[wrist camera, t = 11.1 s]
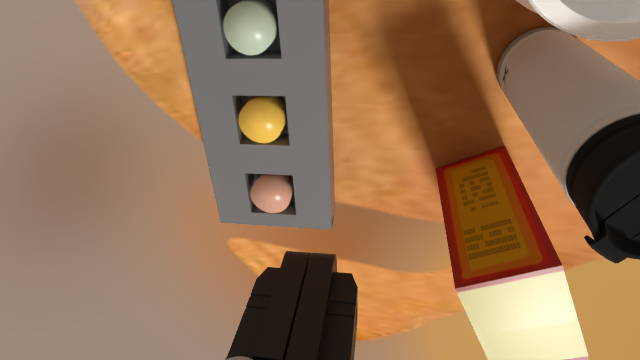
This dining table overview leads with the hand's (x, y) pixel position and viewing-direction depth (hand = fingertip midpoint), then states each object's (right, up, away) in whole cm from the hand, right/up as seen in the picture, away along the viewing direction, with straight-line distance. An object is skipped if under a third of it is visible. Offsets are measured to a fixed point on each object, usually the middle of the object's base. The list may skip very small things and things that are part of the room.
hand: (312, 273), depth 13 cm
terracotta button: (-4, +3, +31) cm, 31 cm away
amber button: (-5, +9, +26) cm, 28 cm away
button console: (-5, +10, +27) cm, 29 cm away
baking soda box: (+17, +1, +29) cm, 33 cm away
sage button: (-5, +16, +22) cm, 28 cm away
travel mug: (+18, +12, +22) cm, 31 cm away
